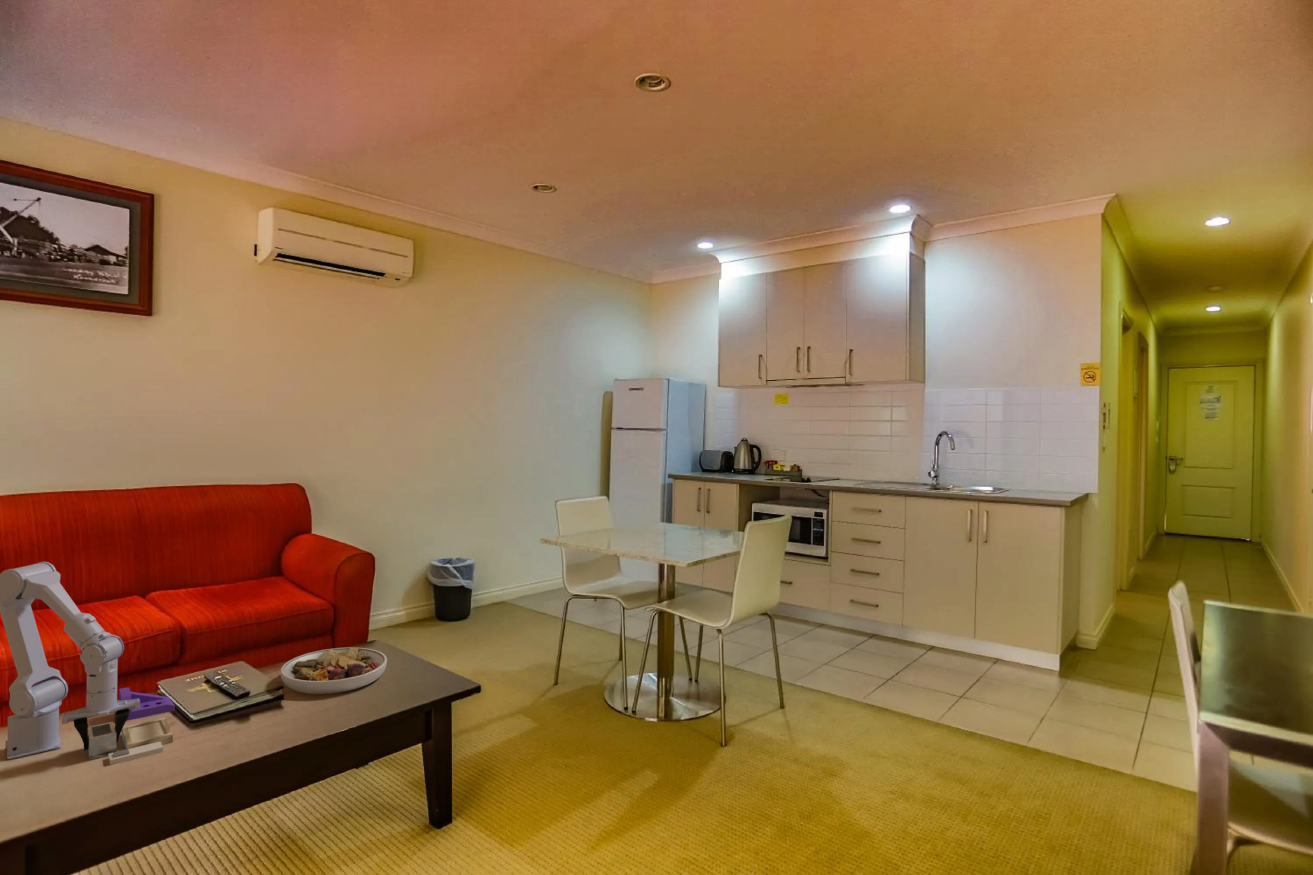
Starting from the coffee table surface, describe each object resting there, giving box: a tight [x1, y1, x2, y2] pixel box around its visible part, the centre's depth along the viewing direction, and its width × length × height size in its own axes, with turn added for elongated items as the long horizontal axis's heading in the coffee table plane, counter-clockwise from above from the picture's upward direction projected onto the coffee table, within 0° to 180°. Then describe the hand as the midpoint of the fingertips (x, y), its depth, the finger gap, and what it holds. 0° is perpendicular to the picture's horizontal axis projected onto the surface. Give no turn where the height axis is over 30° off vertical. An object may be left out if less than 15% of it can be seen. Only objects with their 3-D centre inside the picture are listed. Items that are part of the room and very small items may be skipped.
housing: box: [86, 721, 117, 761], centre depth 166 cm, size 5×8×5 cm, turn 43°
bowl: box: [280, 646, 388, 695], centre depth 215 cm, size 30×30×8 cm
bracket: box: [118, 686, 176, 722], centre depth 187 cm, size 12×7×7 cm, turn 132°
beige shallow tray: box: [121, 717, 174, 750], centre depth 172 cm, size 9×12×2 cm
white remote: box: [107, 742, 164, 766], centre depth 164 cm, size 4×10×2 cm, turn 133°
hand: (101, 744), depth 166 cm, fingers closed on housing, 5 cm apart
